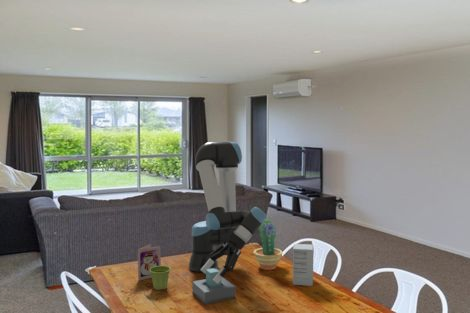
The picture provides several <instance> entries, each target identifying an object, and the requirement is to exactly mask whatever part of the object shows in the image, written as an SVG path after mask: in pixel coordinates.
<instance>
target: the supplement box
mask: <svg viewBox="0 0 470 313" xmlns="http://www.w3.org/2000/svg"><path fill="white" fill-rule="evenodd" d="M292 285H293V286H310V287H313V285H314V244H308V243H307V244H304V243H293V247H292Z"/></svg>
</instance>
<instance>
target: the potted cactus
mask: <svg viewBox="0 0 470 313" xmlns="http://www.w3.org/2000/svg"><path fill="white" fill-rule="evenodd" d="M257 231H258V237H259V238H260V242H261V247H260V248H256V249H254V250H253V252H252V253H253V256H254V257H255V259H256V262H257V264H258V265H259V268H260V269H262V270H266V271H267V270H269V271H271V270H275V269H277V265H278V264H279V262H280V260H281V257H283V253H284V252H283V250H281V249H280V248H276V246H275V244H276V243H275V239H276V236H277V227H276V225H275V224H274V222H273V220H271V219H270V218H265V220H264V221H263V223H262V224H261V225H260V227H259V228H258V229H257Z"/></svg>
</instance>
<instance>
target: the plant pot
mask: <svg viewBox="0 0 470 313" xmlns="http://www.w3.org/2000/svg"><path fill="white" fill-rule="evenodd" d="M170 271H171V267H170V266H167V265H161V266H155V267H152V268H150V272H151V275H152V278H151V280H152V287H153V289H154V290H157V291H161V290H166V289H167V288H168V283H169V282H168V281H169V275H170Z"/></svg>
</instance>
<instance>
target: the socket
mask: <svg viewBox="0 0 470 313" xmlns="http://www.w3.org/2000/svg"><path fill="white" fill-rule="evenodd" d="M192 294H193V295H194V296H196V298H197V299H198V300H200V302H202V304H204V305H208V304H213V303H219V302H223V301H227V300H233V299H236V285H235V284H233V283H231V282H230V281H229V280H228V279H227V278H225V277H223V278H222V279H221V286H218V287H213V288H209V287H207V286H206V278H204V279H199V280H194V281H192Z"/></svg>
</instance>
